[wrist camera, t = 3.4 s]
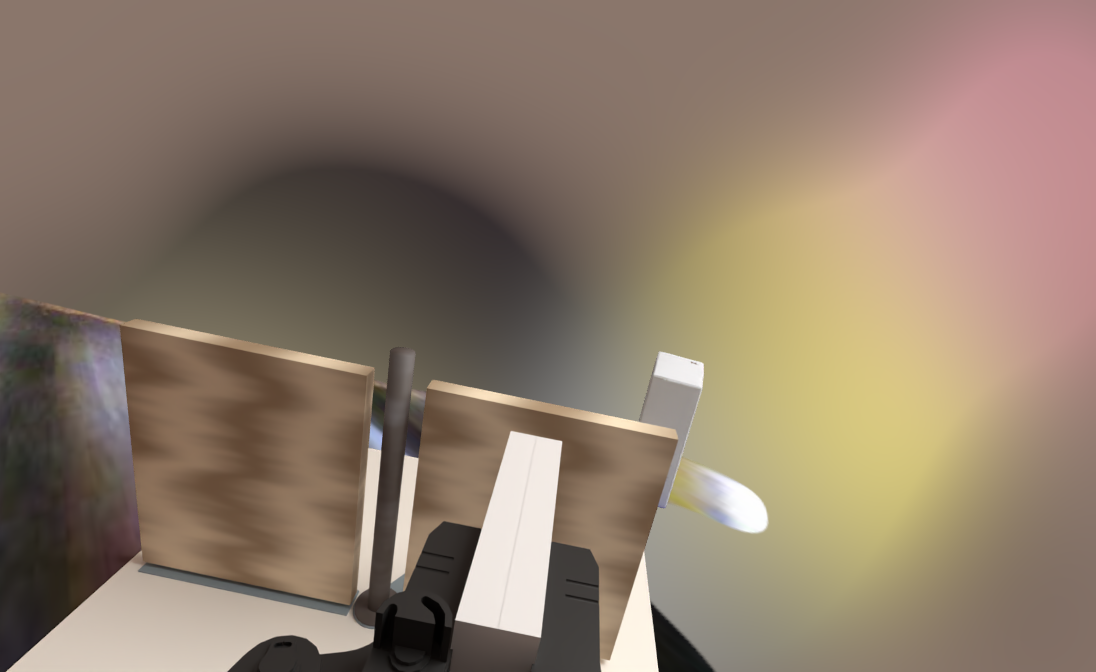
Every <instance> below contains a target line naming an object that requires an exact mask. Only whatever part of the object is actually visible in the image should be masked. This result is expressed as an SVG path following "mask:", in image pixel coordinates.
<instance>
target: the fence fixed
mask: <svg viewBox="0 0 1096 672" xmlns="http://www.w3.org/2000/svg"><path fill="white" fill-rule="evenodd" d="M120 333H121V343H122V353H123V363H124V374H125V384H126V394H127V404H128V415H129V425H130V435H131V445H132V455H133V466H134V476H135V486H136V496H137V507H138V517H139V527H140V537H141V548H142V558H143V562H148V563H152V564H157V565H162V566H166V567H171V568H176V569H181V570H185V571H190V572H195V573H199V574H204V575H209V576H214V577H218V578H223V579H228V580H232V581H237V582H242V583H247V584H251V585H256V586H261V587H266V588H270V589H275V590H280V591H284V592H289V593H294V594H299V595H303V596H308V597H313V598H317V599H322V600H327V601H332V602H336V603H341V604H346V605H350V604H351V602H352V600H353V599H354V597H355V595H356V593H357V585H358V573H359V560H360V548H361V535H362V523H363V510H364V498H365V485H366V472H367V460H368V447H369V435H370V422H371V410H372V397H373V385H374V372H375V371H374V370H375V368H373V367H368V366H363V365H359V364H354V363H349V362H344V361H339V360H334V359H330V358H324V357H320V356H314V355H310V354H305V353H300V352H295V351H290V350H285V349H281V348H276V347H271V346H266V345H261V344H256V343H251V342H247V341H242V340H237V339H232V338H227V337H222V336H217V335H212V334H207V333H203V332H198V331H193V330H188V329H183V328H178V327H174V326H168V325H163V324H158V323H154V322H149V321H144V320H140V319H134V320H132V321H129V322H126V323H124V324H121V325H120ZM414 363H415V351H414V350H412V349H410V348H404V347H396V348H393V349H391V350H390V359H389V371H388V381H387V392H386V404H385V415H384V426H383V437H382V448H381V459H380V471H379V482H378V493H377V504H376V515H375V526H374V538H373V549H372V560H371V571H370V582H369V589H367V590H365V591H364V592H363V593H361V594H360V595H359V597H358V598H357V600H356V603H355V615H356V617H357V619H358V620H359V621H360V622H361V623H363V624H365V625H368V626H375V617H376V611H377V610H378V609H379V607H380V606H381V605H382V603H383V602H384V601H385V600H387V599H388V598H390V597H391V596H393V595H394V594H396V593H397V592H396V591H394V590H393V589H391V588H390V586H391V577H392V567H393V558H394V549H395V539H396V530H397V521H398V511H399V502H400V493H401V484H402V474H403V465H404V456H405V446H406V437H407V428H408V418H409V409H410V400H411V390H412V380H413V371H414Z"/></svg>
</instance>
